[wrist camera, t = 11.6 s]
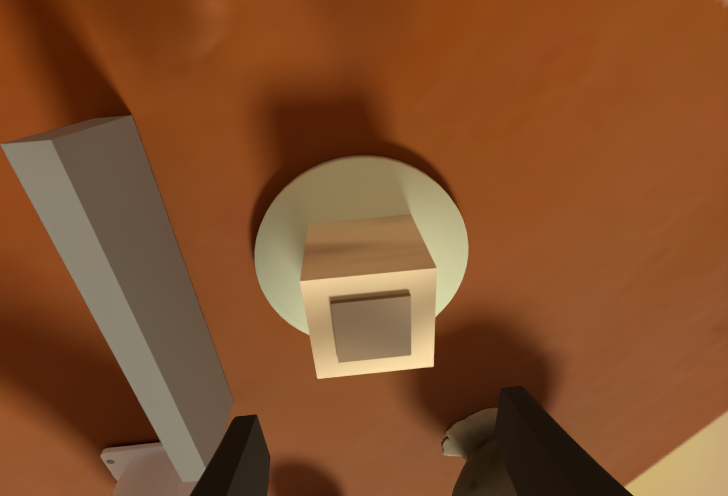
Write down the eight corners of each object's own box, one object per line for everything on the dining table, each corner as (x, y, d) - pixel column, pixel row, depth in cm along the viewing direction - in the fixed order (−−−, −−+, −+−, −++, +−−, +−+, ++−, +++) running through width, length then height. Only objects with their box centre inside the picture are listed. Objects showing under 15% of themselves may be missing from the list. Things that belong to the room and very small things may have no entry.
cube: (411, 297, 20) (434, 370, 15) (321, 306, 20) (317, 382, 15) (411, 214, 18) (438, 271, 13) (308, 223, 17) (299, 284, 13)
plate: (457, 326, 22) (461, 335, 22) (278, 344, 22) (276, 354, 21) (470, 145, 17) (476, 149, 16) (235, 165, 17) (230, 170, 16)
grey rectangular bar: (233, 401, 24) (211, 479, 20) (210, 403, 24) (182, 482, 20) (131, 115, 15) (51, 139, 11) (95, 118, 15) (-1, 144, 11)
